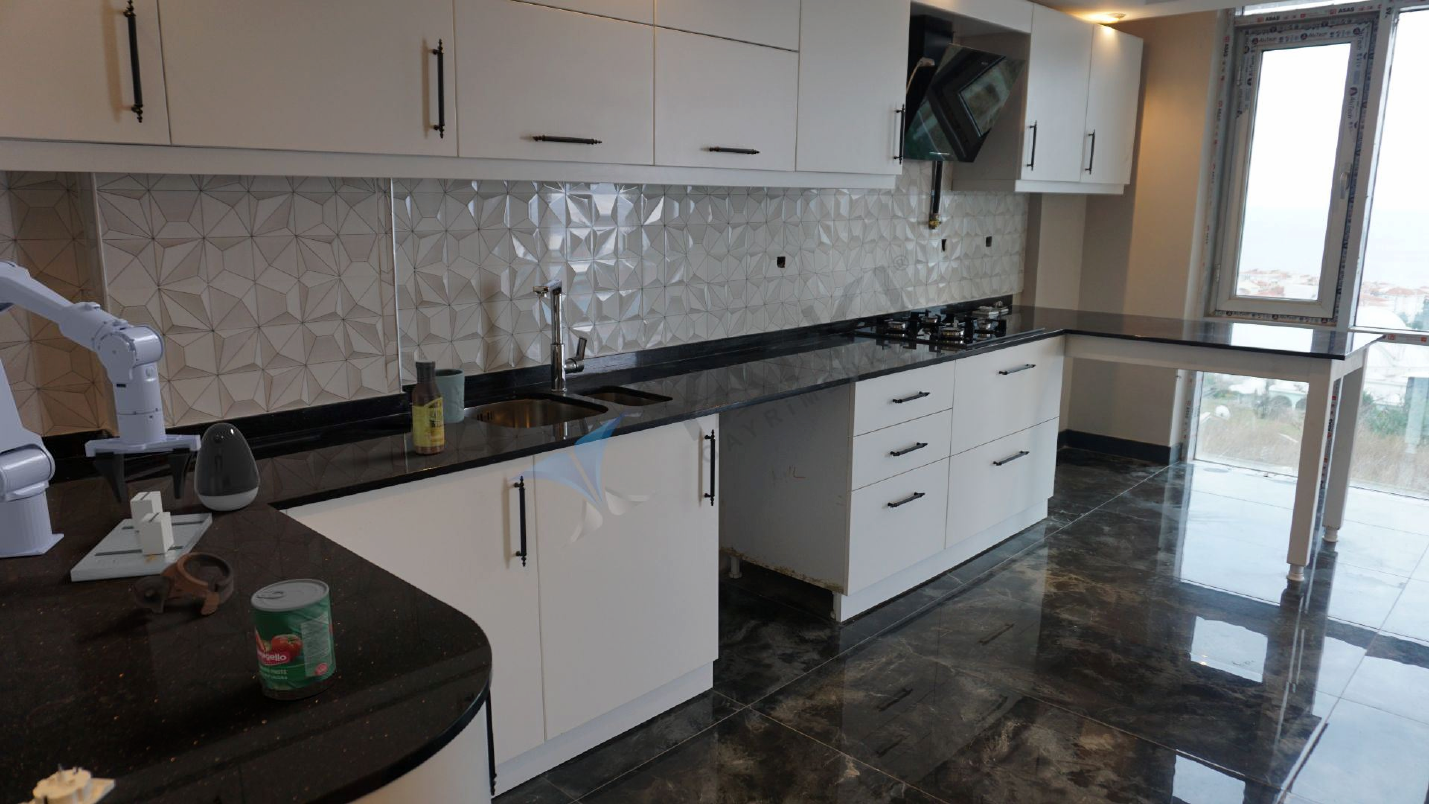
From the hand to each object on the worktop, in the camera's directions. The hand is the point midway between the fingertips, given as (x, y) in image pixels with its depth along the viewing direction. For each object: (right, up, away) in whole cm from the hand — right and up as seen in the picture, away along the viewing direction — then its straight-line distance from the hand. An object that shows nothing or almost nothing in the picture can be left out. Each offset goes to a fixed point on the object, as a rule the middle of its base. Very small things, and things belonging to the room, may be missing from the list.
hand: (151, 499), depth 137 cm
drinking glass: (+18, +10, +89) cm, 92 cm away
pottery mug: (+13, -13, -14) cm, 24 cm away
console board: (-4, -8, +6) cm, 11 cm away
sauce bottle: (+23, +4, +62) cm, 66 cm away
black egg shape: (-2, -4, +26) cm, 26 cm away
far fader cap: (-7, -5, +11) cm, 15 cm away
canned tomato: (+37, -18, -33) cm, 52 cm away
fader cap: (0, -8, +2) cm, 8 cm away
